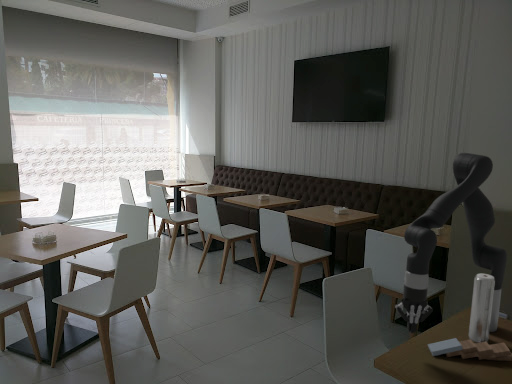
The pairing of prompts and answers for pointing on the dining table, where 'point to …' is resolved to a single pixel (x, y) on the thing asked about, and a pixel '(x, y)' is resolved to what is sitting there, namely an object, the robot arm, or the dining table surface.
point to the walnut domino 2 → (479, 350)
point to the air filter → (481, 307)
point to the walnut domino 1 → (464, 348)
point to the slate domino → (445, 347)
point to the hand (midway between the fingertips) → (411, 332)
